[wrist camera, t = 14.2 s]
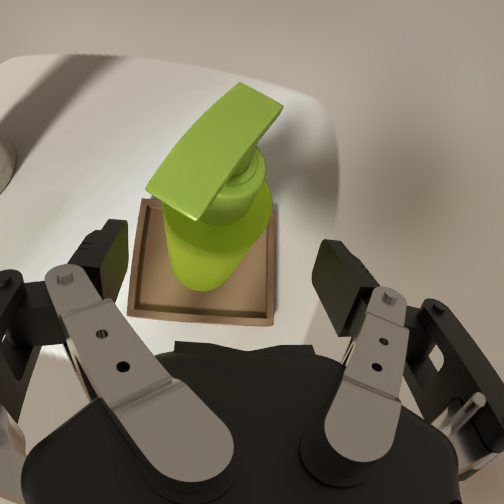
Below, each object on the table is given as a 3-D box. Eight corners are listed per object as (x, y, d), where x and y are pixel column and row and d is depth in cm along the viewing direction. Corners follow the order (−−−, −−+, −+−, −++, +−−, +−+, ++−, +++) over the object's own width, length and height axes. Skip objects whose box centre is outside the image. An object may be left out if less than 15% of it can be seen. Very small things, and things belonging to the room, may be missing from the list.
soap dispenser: (151, 278, 27) (93, 150, 8) (192, 218, 29) (219, 40, 10) (206, 313, 27) (261, 256, 8) (244, 251, 29) (347, 109, 10)
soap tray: (130, 316, 26) (126, 315, 24) (144, 206, 29) (141, 198, 28) (267, 326, 29) (273, 325, 27) (269, 219, 32) (274, 211, 30)
